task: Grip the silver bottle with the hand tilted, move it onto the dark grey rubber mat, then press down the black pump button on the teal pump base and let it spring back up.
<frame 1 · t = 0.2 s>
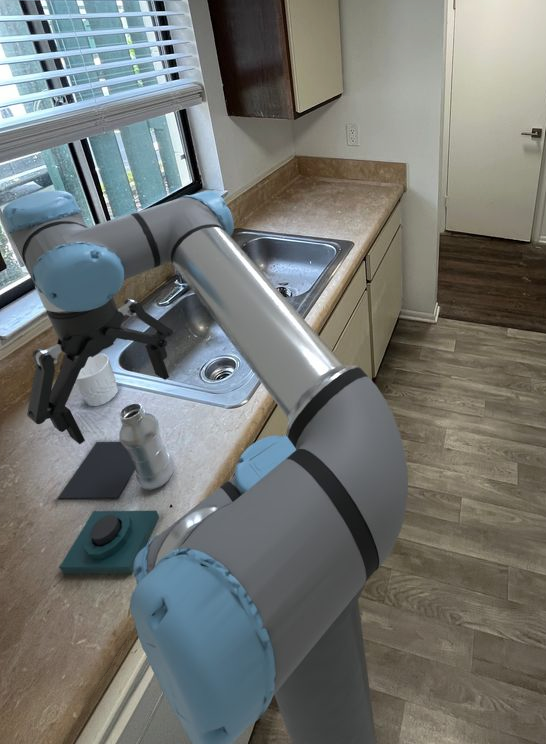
hand: (123, 404, 70), 30 cm above the worktop, tool pointing down, fingers open, 13 cm apart
mat: (107, 469, 92), on the worktop
teal pump base: (113, 544, 79), on the worktop
pump button: (105, 529, 77), point 5 cm above the worktop, slide at 0.1 cm
white cup: (102, 395, 109), on the worktop
silver bottle: (159, 478, 90), on the worktop
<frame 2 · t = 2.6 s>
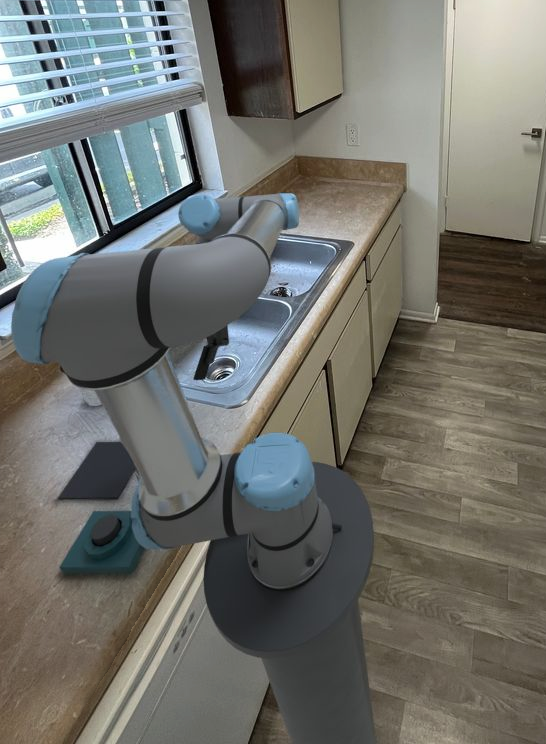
hand: (171, 371, 89), 20 cm above the worktop, tool tilted 45°, fingers open, 13 cm apart
nothing on the worktop moved.
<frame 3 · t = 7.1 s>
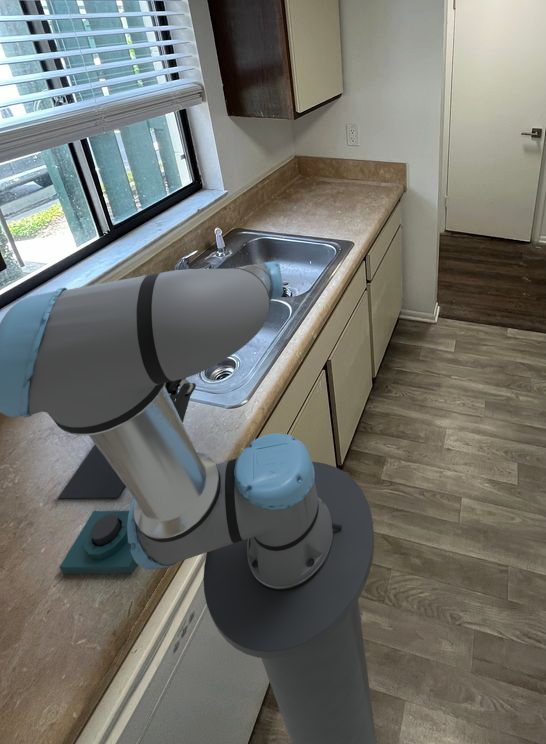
hand: (131, 468, 83), 8 cm above the worktop, tool tilted 45°, fingers closed on silver bottle, 6 cm apart
silver bottle: (159, 478, 90), on the worktop, touching gripper
everything else where it was.
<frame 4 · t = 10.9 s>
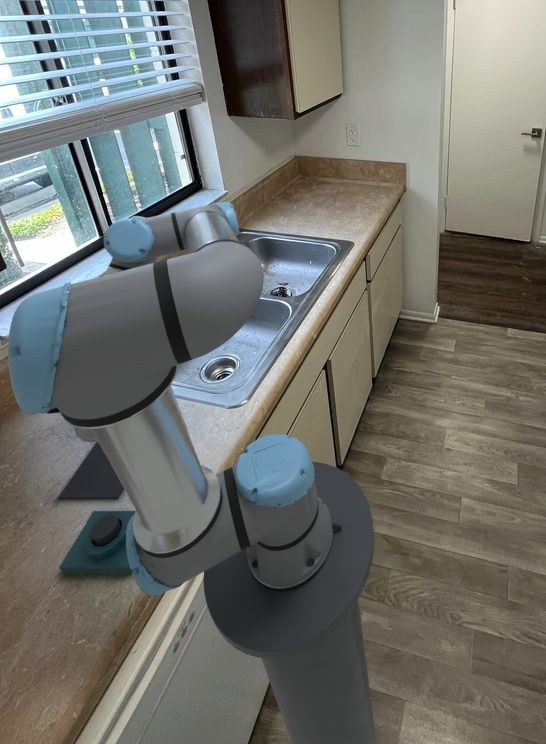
hand: (67, 417, 80), 20 cm above the worktop, tool tilted 45°, fingers closed on silver bottle, 6 cm apart
silver bottle: (100, 432, 86), point 12 cm above the worktop, touching gripper
everything else where it was.
when the fingers open (9 cm above the worktop, at t = 14.6 s): silver bottle stays where it is, resting on mat.
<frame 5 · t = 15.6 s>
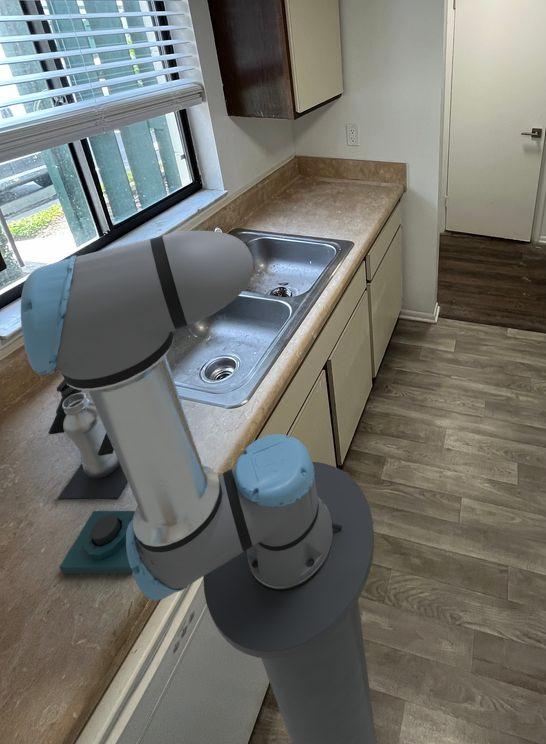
hand: (79, 443, 85), 11 cm above the worktop, tool tilted 45°, fingers open, 13 cm apart
silver bottle: (107, 468, 92), resting on mat
everything else where it was.
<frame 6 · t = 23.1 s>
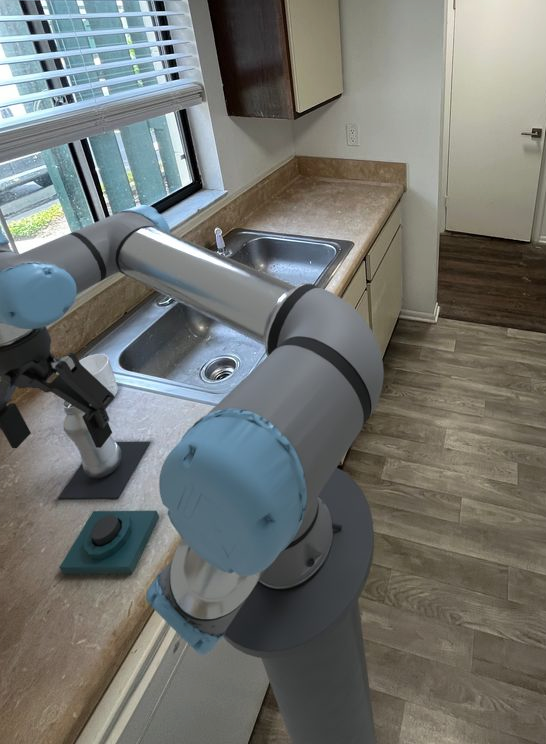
hand: (63, 440, 69), 26 cm above the worktop, tool pointing down, fingers open, 13 cm apart
nothing on the worktop moved.
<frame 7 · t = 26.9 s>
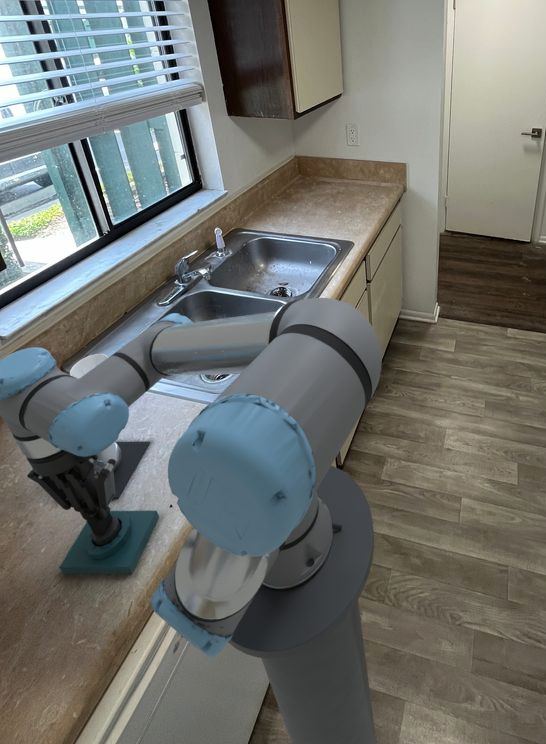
hand: (103, 526, 77), 5 cm above the worktop, tool pointing down, fingers closed
pump button: (106, 531, 77), point 4 cm above the worktop, slide at -0.4 cm, touching gripper
everything else where it was.
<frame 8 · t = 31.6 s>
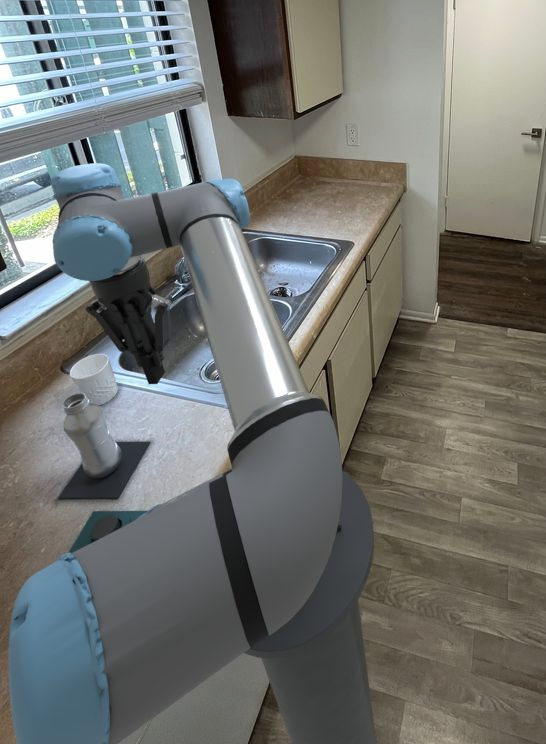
hand: (156, 377, 76), 29 cm above the worktop, tool pointing down, fingers closed
pump button: (105, 529, 77), point 5 cm above the worktop, slide at 0.1 cm
everything else where it was.
at the end: silver bottle inside the target area on the mat (0.1 cm from its centre), point 0.2 cm above the mat's base; silver bottle tilted 0°; pump button pushed in 1.0 cm at the most during the clip, back to where it started at the end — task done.
